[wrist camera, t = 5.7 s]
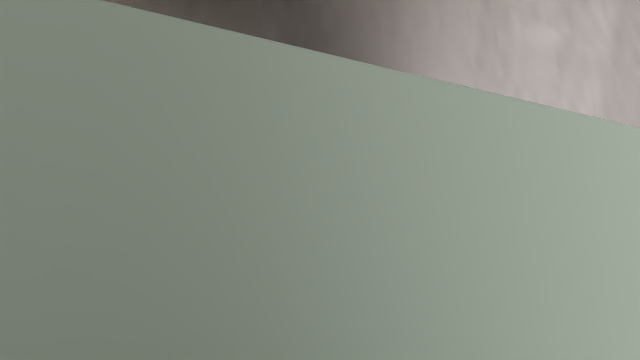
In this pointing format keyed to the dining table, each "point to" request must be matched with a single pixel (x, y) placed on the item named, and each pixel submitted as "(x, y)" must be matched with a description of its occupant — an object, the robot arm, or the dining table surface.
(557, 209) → the pillar
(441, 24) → the dining table surface
